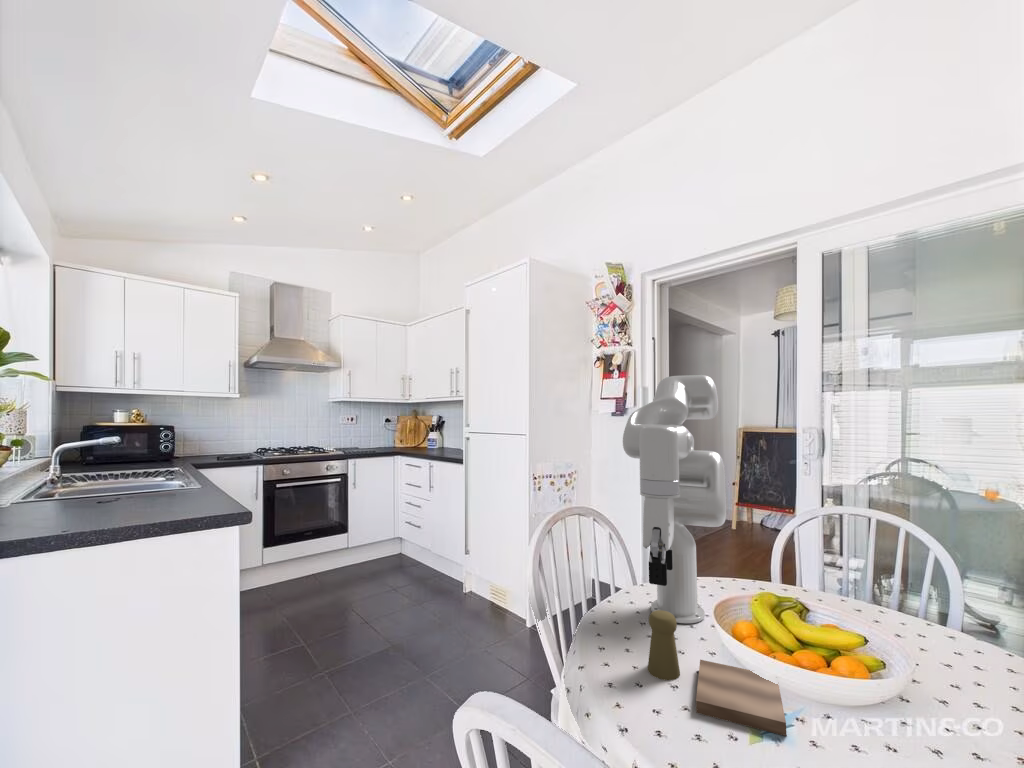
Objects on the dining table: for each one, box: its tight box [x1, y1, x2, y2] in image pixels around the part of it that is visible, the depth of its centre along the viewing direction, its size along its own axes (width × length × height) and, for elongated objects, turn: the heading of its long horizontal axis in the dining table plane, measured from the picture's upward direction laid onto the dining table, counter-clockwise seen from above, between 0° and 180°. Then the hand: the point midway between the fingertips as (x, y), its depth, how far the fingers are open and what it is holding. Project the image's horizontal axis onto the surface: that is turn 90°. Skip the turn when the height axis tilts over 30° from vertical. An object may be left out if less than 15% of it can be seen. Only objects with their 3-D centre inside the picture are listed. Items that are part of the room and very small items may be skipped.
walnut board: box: [695, 659, 788, 737], centre depth 80 cm, size 14×13×2 cm
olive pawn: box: [647, 610, 681, 681], centre depth 89 cm, size 6×6×11 cm
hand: (661, 576), depth 89 cm, fingers open, 9 cm apart
